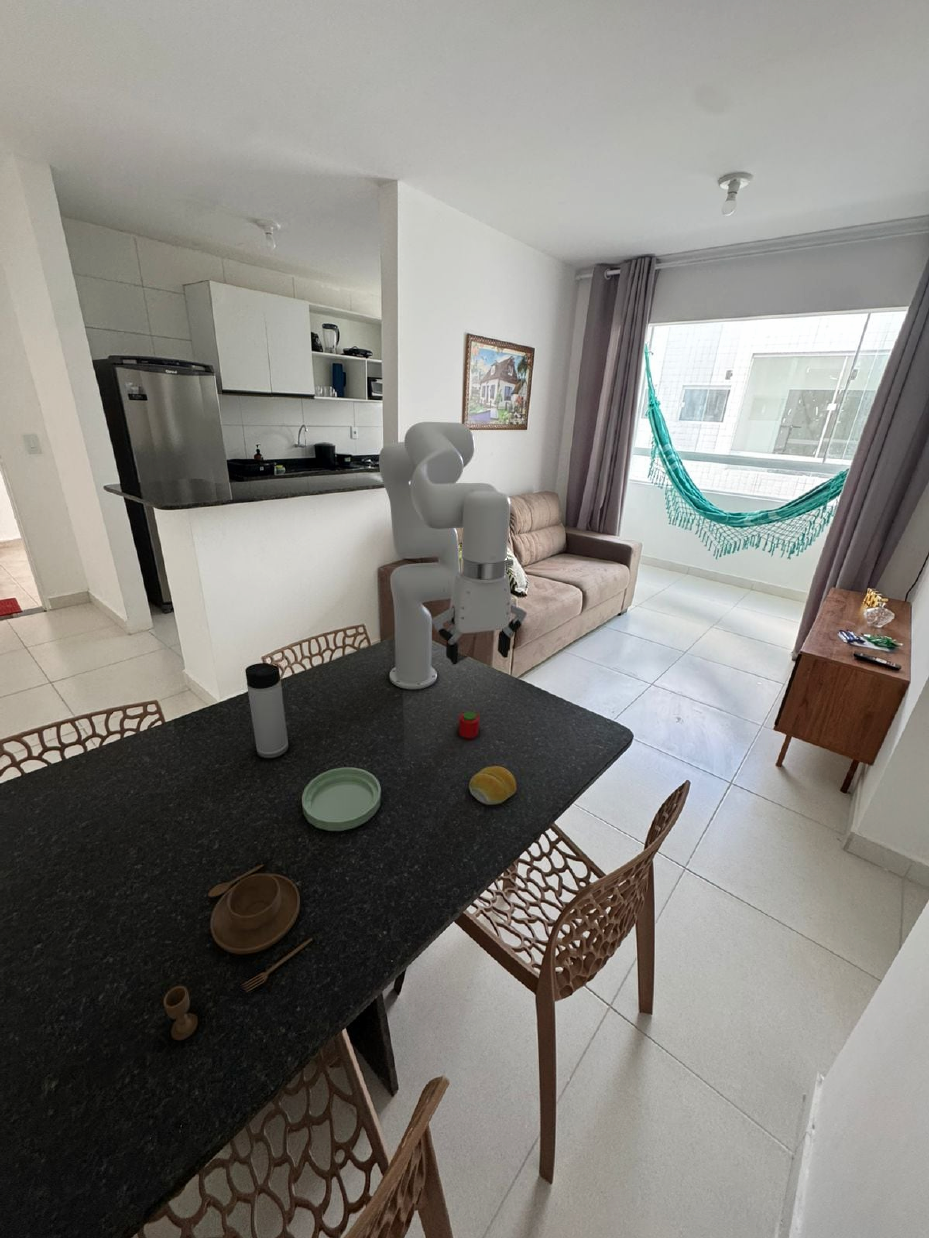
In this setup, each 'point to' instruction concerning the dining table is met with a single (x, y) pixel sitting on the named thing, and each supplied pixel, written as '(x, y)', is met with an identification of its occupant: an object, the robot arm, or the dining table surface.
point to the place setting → (242, 931)
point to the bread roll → (492, 785)
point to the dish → (341, 799)
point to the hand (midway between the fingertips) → (478, 657)
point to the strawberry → (468, 724)
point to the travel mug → (267, 709)
